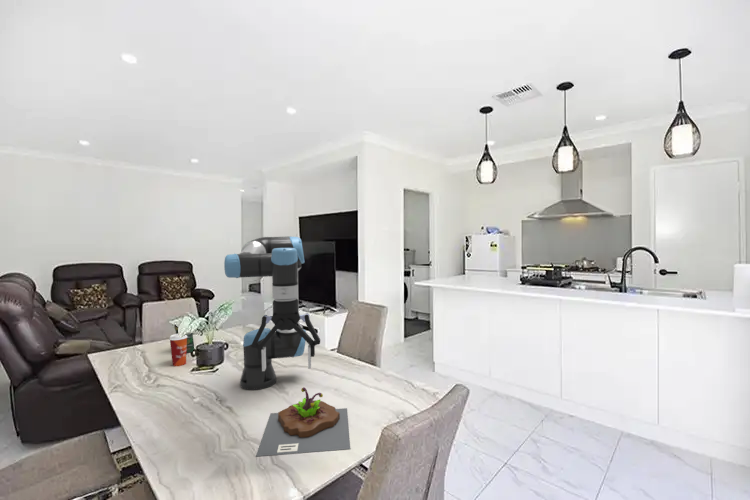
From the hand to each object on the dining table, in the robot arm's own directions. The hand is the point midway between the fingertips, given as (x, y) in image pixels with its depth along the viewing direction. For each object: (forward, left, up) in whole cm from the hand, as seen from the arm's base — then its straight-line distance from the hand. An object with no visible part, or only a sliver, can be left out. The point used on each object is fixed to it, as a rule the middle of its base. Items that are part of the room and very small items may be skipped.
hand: (287, 368), depth 111 cm
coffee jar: (-69, +102, -25) cm, 126 cm away
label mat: (+5, +10, -25) cm, 27 cm away
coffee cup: (-64, +82, -25) cm, 107 cm away
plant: (+5, +16, -25) cm, 30 cm away
